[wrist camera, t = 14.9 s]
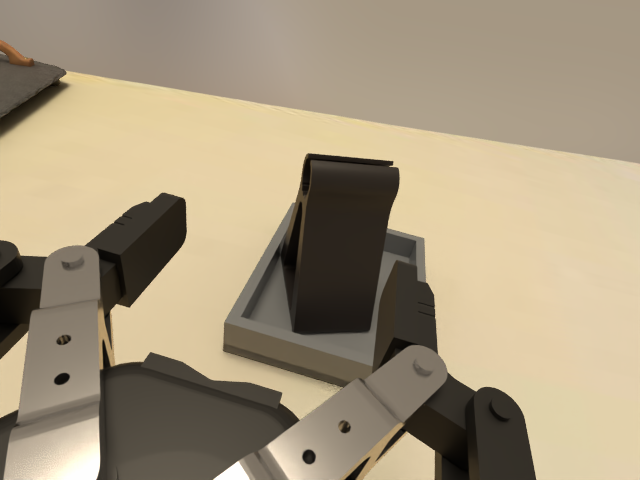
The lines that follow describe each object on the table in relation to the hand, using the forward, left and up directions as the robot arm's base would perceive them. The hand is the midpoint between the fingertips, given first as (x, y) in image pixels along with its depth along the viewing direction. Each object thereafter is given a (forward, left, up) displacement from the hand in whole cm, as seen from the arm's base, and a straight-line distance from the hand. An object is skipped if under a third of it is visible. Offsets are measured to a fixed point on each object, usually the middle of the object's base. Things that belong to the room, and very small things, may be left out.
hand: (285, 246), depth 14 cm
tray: (+3, +13, -14) cm, 19 cm away
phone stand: (+1, +12, -13) cm, 18 cm away
